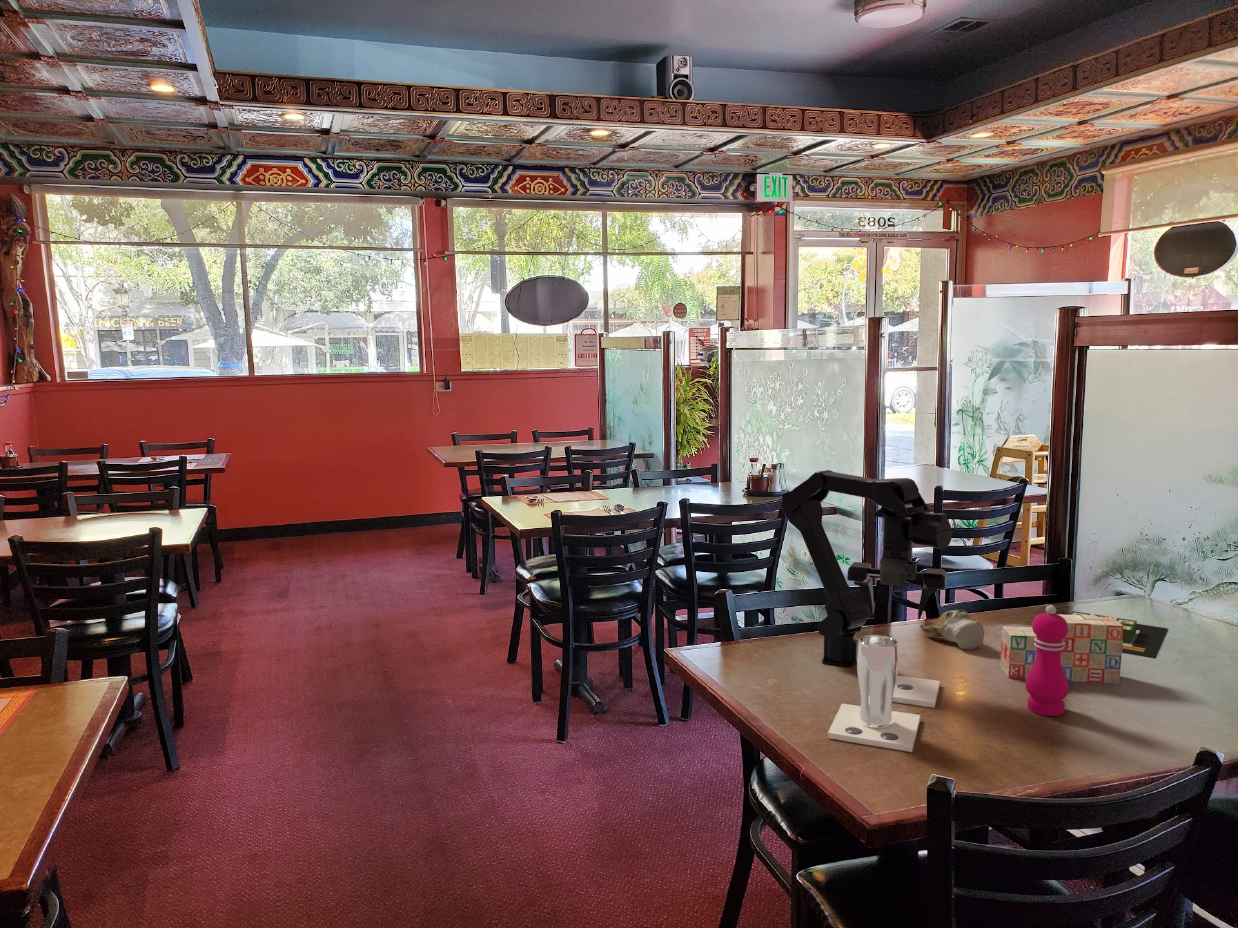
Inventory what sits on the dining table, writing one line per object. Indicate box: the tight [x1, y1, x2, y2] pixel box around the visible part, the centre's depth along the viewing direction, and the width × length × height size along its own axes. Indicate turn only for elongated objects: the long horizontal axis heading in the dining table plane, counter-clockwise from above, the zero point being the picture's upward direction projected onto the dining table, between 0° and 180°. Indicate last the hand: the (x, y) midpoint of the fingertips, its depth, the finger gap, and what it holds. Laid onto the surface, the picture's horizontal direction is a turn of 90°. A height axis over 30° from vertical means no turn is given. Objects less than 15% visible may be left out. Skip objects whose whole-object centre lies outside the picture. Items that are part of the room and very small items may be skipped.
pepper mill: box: [1024, 604, 1070, 717], centre depth 164 cm, size 7×7×20 cm
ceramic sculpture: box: [919, 606, 985, 651], centre depth 204 cm, size 11×9×15 cm
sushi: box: [1055, 610, 1168, 659], centre depth 210 cm, size 25×25×4 cm
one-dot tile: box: [892, 674, 941, 709], centre depth 175 cm, size 12×12×1 cm
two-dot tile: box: [827, 703, 921, 753], centre depth 158 cm, size 14×14×1 cm
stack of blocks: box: [1000, 614, 1124, 684], centre depth 182 cm, size 21×6×12 cm, turn 81°
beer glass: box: [856, 634, 899, 729], centre depth 158 cm, size 7×7×15 cm
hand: (895, 616), depth 181 cm, fingers open, 9 cm apart
